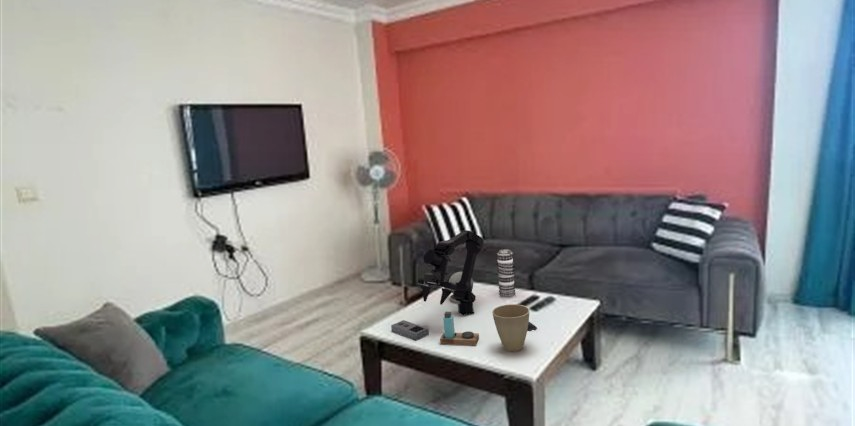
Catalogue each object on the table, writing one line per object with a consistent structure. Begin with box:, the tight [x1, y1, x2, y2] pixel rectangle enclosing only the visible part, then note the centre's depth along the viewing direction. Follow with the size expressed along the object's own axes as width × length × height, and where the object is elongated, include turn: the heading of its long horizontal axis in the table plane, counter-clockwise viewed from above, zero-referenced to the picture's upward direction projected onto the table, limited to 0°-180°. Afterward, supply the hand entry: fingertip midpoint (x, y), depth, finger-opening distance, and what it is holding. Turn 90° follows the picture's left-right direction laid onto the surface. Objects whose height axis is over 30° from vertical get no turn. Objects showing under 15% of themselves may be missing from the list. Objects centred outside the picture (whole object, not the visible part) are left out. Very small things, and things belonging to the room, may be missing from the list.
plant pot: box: [491, 304, 530, 352], centre depth 206 cm, size 15×15×16 cm
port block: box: [390, 319, 430, 341], centre depth 231 cm, size 8×17×3 cm, turn 43°
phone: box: [527, 321, 538, 332], centre depth 229 cm, size 8×1×15 cm
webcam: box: [448, 271, 474, 305], centre depth 268 cm, size 13×13×15 cm
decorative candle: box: [496, 248, 516, 300], centre depth 265 cm, size 9×9×25 cm
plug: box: [442, 311, 456, 338], centre depth 218 cm, size 4×4×13 cm
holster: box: [439, 331, 480, 347], centre depth 217 cm, size 7×16×4 cm, turn 73°
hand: (432, 303), depth 228 cm, fingers open, 9 cm apart
